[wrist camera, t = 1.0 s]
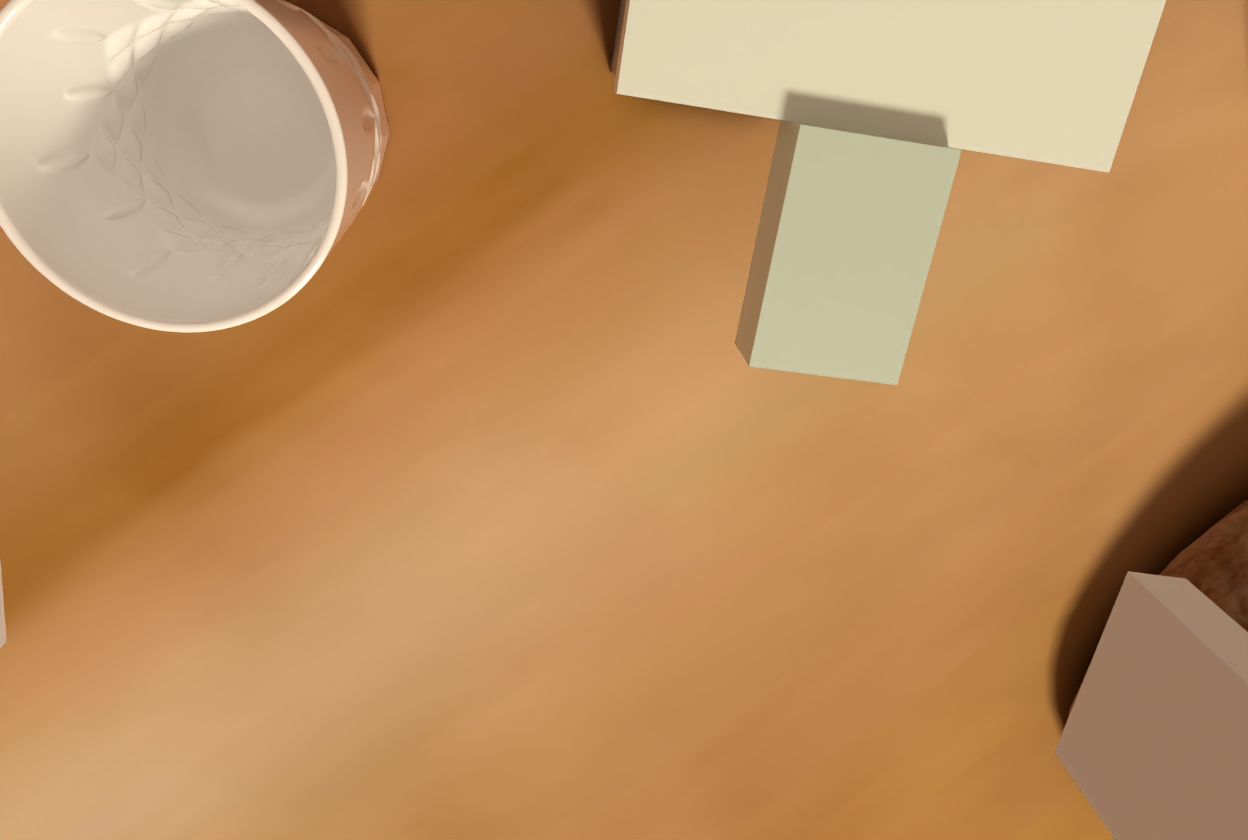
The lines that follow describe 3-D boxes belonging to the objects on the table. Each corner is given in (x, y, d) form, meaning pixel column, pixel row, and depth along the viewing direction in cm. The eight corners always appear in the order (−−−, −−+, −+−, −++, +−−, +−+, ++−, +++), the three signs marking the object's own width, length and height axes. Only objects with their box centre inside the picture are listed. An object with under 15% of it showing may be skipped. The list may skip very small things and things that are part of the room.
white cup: (254, -80, 28) (106, -139, 18) (460, 119, 30) (421, 154, 21) (96, 122, 29) (-112, 160, 20) (303, 294, 32) (203, 399, 23)
